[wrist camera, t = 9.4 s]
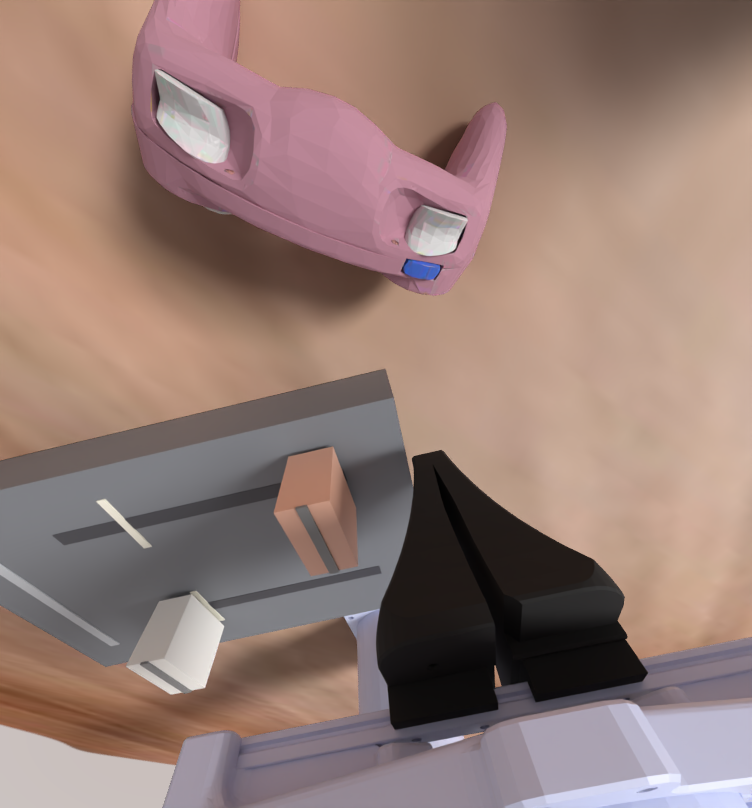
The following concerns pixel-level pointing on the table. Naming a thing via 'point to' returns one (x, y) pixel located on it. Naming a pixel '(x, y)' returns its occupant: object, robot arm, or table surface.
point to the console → (200, 519)
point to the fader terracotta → (318, 512)
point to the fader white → (177, 645)
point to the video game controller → (303, 155)
